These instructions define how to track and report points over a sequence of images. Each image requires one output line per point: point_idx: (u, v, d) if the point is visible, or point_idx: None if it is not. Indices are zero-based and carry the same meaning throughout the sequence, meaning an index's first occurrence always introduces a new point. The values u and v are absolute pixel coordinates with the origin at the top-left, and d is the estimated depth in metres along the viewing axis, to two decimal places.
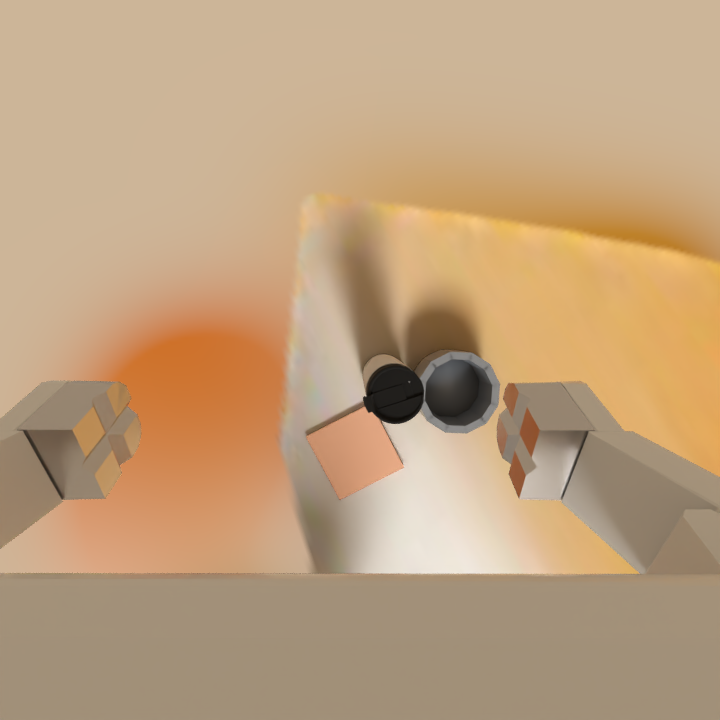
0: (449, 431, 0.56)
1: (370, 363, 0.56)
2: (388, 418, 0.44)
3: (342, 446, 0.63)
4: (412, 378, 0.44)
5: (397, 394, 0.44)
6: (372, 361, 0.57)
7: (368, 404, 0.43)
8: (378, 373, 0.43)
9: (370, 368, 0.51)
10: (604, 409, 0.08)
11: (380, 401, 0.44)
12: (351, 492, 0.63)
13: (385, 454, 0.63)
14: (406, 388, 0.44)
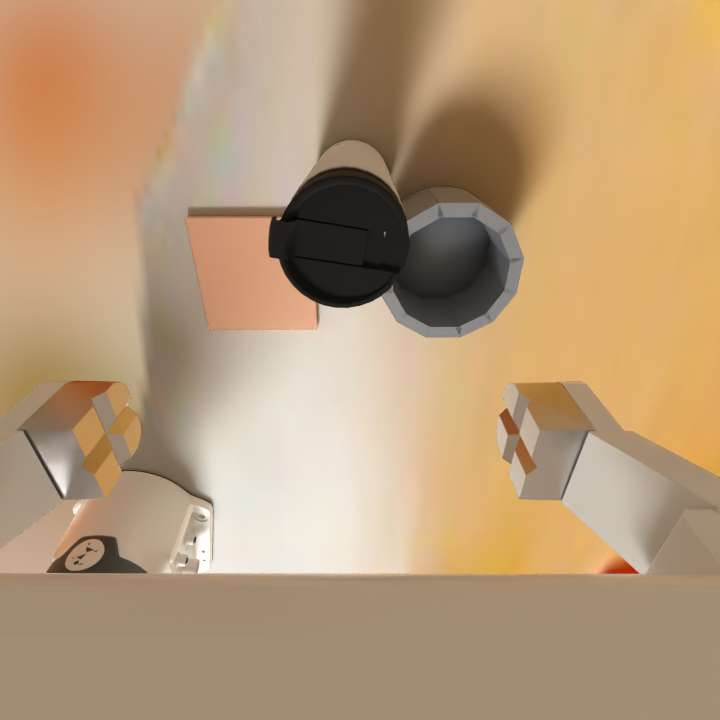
0: (403, 323, 0.35)
1: (336, 148, 0.29)
2: (307, 285, 0.20)
3: (239, 260, 0.39)
4: (395, 230, 0.19)
5: (348, 247, 0.19)
6: (341, 146, 0.29)
7: (275, 239, 0.18)
8: (328, 180, 0.18)
9: (327, 158, 0.24)
10: (603, 410, 0.08)
11: (306, 244, 0.19)
12: (229, 328, 0.42)
13: (299, 301, 0.41)
14: (372, 245, 0.20)
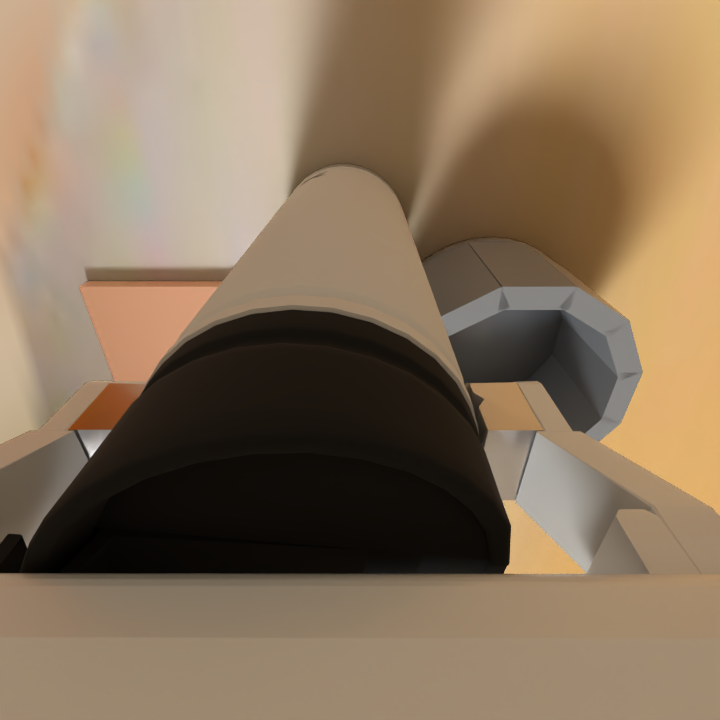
0: None
1: (310, 189, 0.15)
2: None
3: (171, 346, 0.25)
4: (465, 550, 0.05)
5: None
6: (321, 185, 0.15)
7: None
8: (192, 454, 0.04)
9: (280, 227, 0.11)
10: (556, 409, 0.08)
11: None
12: None
13: None
14: (383, 568, 0.06)
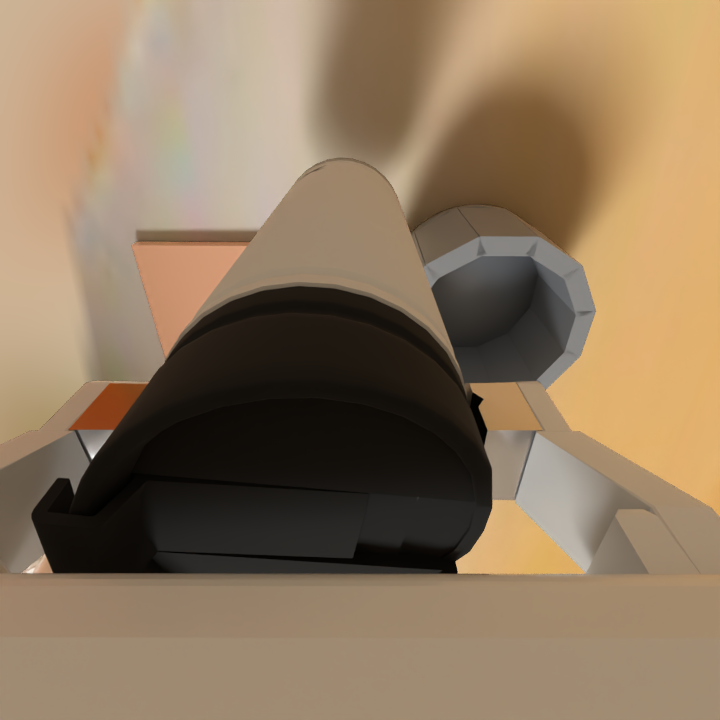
0: None
1: (310, 182, 0.16)
2: None
3: (206, 299, 0.29)
4: (453, 493, 0.06)
5: (311, 527, 0.07)
6: (320, 178, 0.16)
7: (62, 562, 0.05)
8: (220, 398, 0.05)
9: (283, 217, 0.12)
10: (555, 409, 0.08)
11: (185, 527, 0.06)
12: None
13: None
14: (382, 513, 0.07)
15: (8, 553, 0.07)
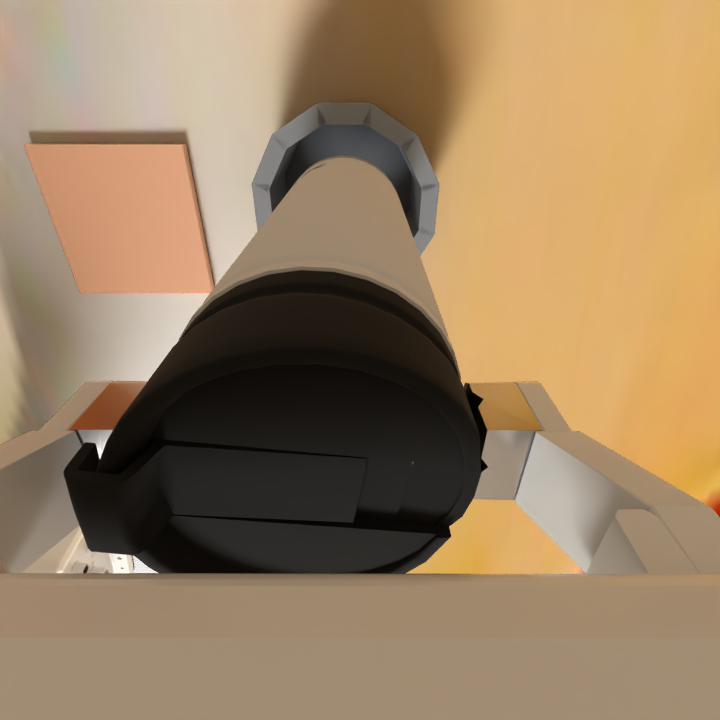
0: None
1: (312, 178, 0.16)
2: (217, 564, 0.08)
3: (102, 202, 0.31)
4: (444, 457, 0.07)
5: (314, 492, 0.07)
6: (321, 175, 0.16)
7: (90, 518, 0.06)
8: (231, 364, 0.05)
9: (286, 211, 0.12)
10: (555, 410, 0.08)
11: (199, 491, 0.07)
12: (104, 290, 0.35)
13: (184, 255, 0.33)
14: (380, 479, 0.07)
15: (8, 553, 0.07)
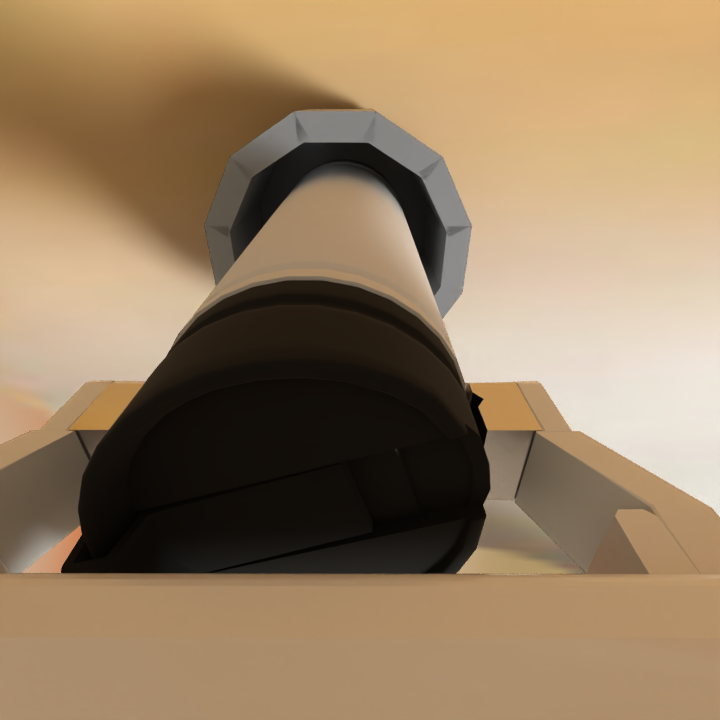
0: None
1: (282, 202, 0.16)
2: None
3: None
4: (419, 434, 0.06)
5: (312, 514, 0.07)
6: (289, 194, 0.16)
7: None
8: (132, 422, 0.05)
9: (248, 245, 0.12)
10: (555, 409, 0.08)
11: (207, 546, 0.07)
12: None
13: None
14: (375, 479, 0.07)
15: (8, 553, 0.07)
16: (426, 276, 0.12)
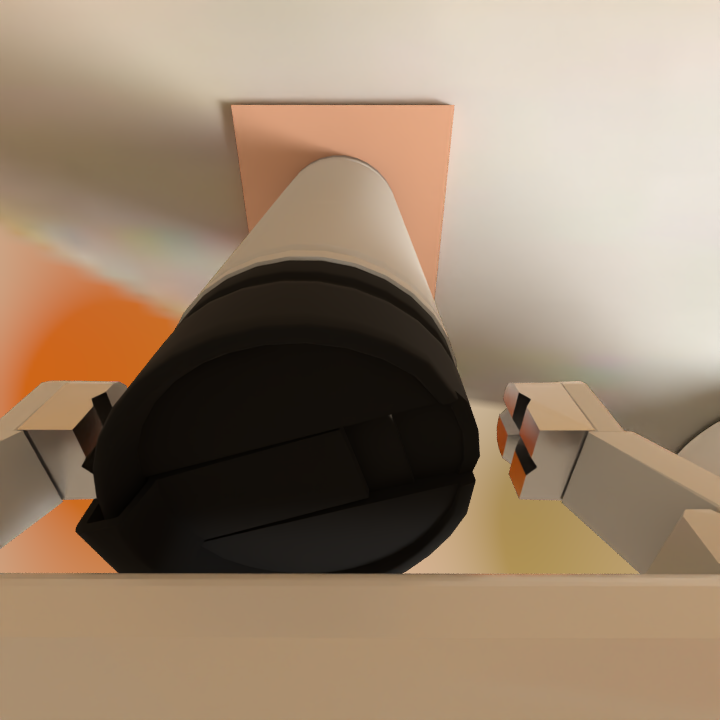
0: None
1: (280, 195, 0.17)
2: None
3: None
4: (412, 400, 0.06)
5: (311, 479, 0.07)
6: (287, 188, 0.17)
7: (117, 562, 0.07)
8: (146, 385, 0.05)
9: (248, 234, 0.13)
10: (603, 409, 0.08)
11: (212, 512, 0.07)
12: (434, 278, 0.25)
13: (389, 141, 0.21)
14: (371, 446, 0.07)
15: None
16: None
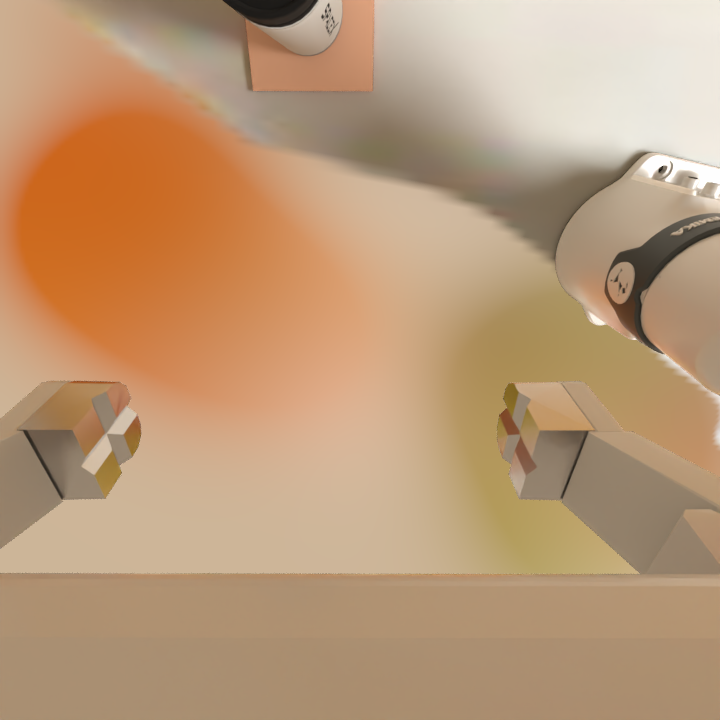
0: None
1: None
2: (248, 5, 0.20)
3: None
4: None
5: None
6: None
7: None
8: None
9: None
10: (603, 409, 0.08)
11: None
12: (371, 63, 0.37)
13: None
14: None
15: None
16: None
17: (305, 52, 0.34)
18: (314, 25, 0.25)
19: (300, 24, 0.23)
